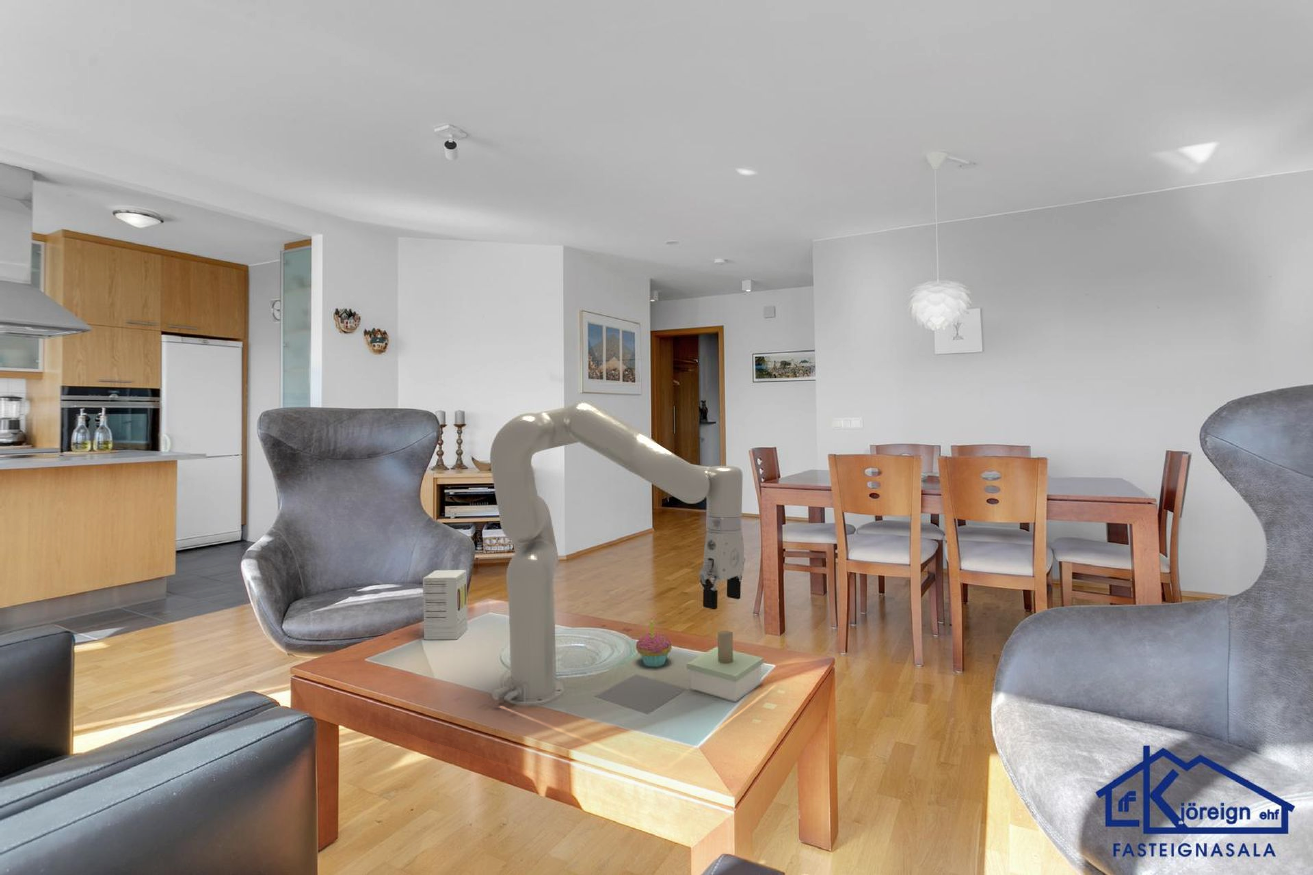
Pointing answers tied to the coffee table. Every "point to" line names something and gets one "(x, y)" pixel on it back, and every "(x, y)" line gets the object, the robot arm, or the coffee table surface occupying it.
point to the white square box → (725, 685)
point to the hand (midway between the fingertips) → (722, 602)
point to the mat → (641, 693)
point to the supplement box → (445, 604)
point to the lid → (725, 660)
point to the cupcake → (653, 648)
